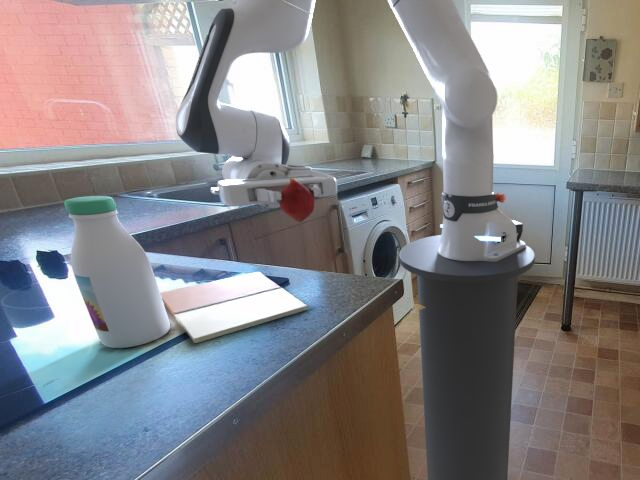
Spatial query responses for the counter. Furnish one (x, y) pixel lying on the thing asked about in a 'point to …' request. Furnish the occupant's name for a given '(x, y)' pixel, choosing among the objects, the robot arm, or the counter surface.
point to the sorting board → (229, 305)
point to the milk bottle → (114, 276)
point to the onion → (297, 201)
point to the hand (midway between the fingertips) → (298, 195)
